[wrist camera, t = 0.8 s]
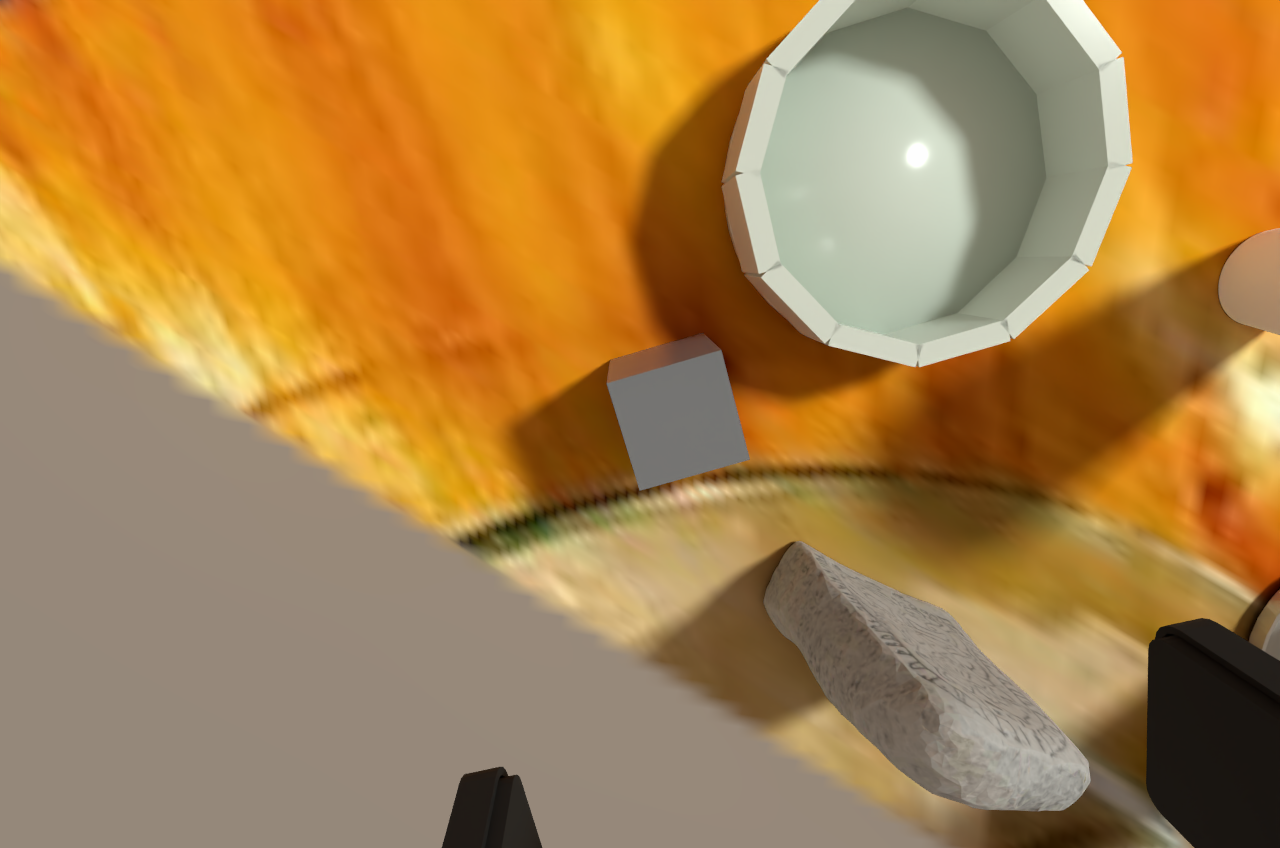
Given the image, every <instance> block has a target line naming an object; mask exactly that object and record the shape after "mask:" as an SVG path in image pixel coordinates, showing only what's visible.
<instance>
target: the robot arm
mask: <svg viewBox="0 0 1280 848" xmlns="http://www.w3.org/2000/svg"><path fill="white" fill-rule="evenodd" d="M1146 784H1147V790H1148V793H1149V796H1150V798H1151V800H1152V802H1153V803H1154V805H1155V806H1156V808H1157V809H1158V811H1159V812H1160V813H1161V814H1162V815H1163V816H1164V817H1165V818H1166V819H1167V820H1168V821H1169V822H1170V823H1171V824H1172V825H1173V826H1174V827H1175V828H1176V829H1177V830H1178V831H1179V832H1180V834H1181V835H1182V836H1183V837H1184V838H1185V839H1186V840H1187V841H1188V842H1189V843H1190V844H1191V845H1192V846H1193V847H1194V848H1280V589H1279V590H1278V591H1277V592H1276V593H1275V595H1274V596H1273V597H1272V598H1271V599H1270V600H1269V601H1268V603H1267V604H1266V606H1265V607H1264V609H1263V611H1262V612H1261V614H1260V615H1259V617H1258V618H1257V621H1256V623H1255V625H1254V628H1253V630H1252V632H1251V635H1250V638H1249V642H1248V641H1246V640H1245V639H1243V638H1241V637H1240V636H1238V635H1236V634H1235V633H1233V632H1231V631H1230V630H1228V629H1226V628H1225V627H1223V626H1222V625H1220V624H1218V623H1216V622H1214V621H1212V620H1210V619H1203V618H1200V619H1196V620H1191V621H1186V622H1182V623H1177V624H1172V625H1167V626H1164V627H1161V628H1159V630H1158V631H1157V632H1156V637H1155V640H1152V641H1151V642H1150V644H1149V650H1148V712H1147V774H1146ZM442 848H542V845H541V842H540V839H539V836H538V833H537V829H536V826H535V823H534V820H533V817H532V814H531V810H530V807H529V804H528V801H527V798H526V795H525V792H524V788H523V785H522V782H521V779H520V777H519V776H518V775H513V776H508V774H507V772H506V770H505V769H504V768H503V767H498V768H492V769H488V770H483V771H478V772H473V773H469V774H465V775H464V776H463V777H462V778H461V781H460V783H459V787H458V790H457V794H456V798H455V801H454V805H453V809H452V813H451V816H450V820H449V824H448V827H447V831H446V835H445V838H444V842H443V846H442Z"/></svg>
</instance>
